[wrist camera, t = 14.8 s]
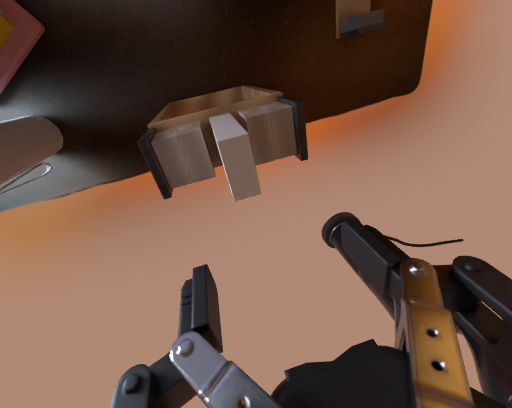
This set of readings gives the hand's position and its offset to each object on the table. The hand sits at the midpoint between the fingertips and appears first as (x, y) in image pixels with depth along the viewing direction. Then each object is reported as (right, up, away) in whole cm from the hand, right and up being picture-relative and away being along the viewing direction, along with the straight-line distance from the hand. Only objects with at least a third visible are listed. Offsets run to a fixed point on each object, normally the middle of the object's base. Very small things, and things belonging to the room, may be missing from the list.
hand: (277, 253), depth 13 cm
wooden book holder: (-5, +11, +15) cm, 20 cm away
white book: (-5, +11, +14) cm, 19 cm away
